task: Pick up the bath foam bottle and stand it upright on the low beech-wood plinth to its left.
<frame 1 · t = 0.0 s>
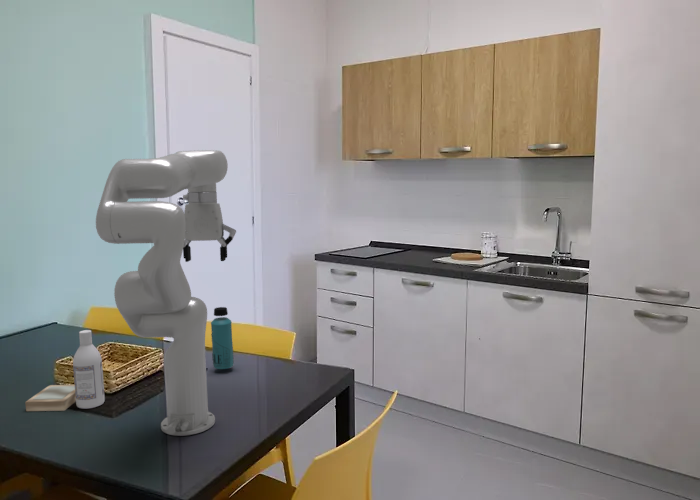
hand: (205, 260, 155), 37 cm above the table, tool pointing down, fingers open, 9 cm apart
plinth: (57, 401, 152), on the table
bath foam: (90, 404, 150), on the table
beverage bottle: (223, 371, 175), on the table
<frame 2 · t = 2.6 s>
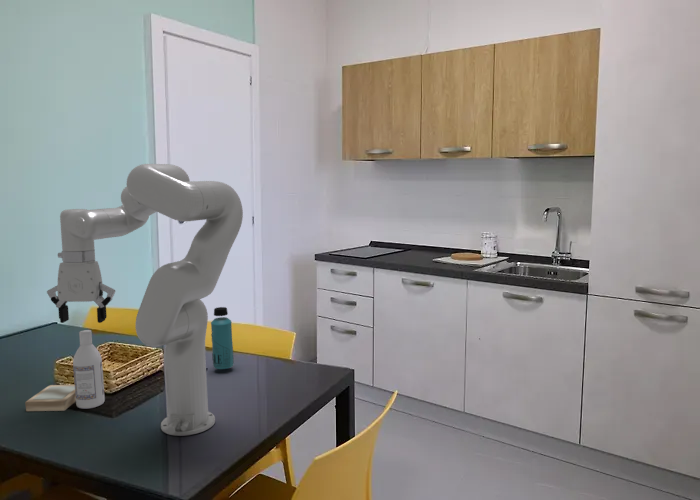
hand: (83, 321, 148), 23 cm above the table, tool pointing down, fingers open, 9 cm apart
nothing on the table moved.
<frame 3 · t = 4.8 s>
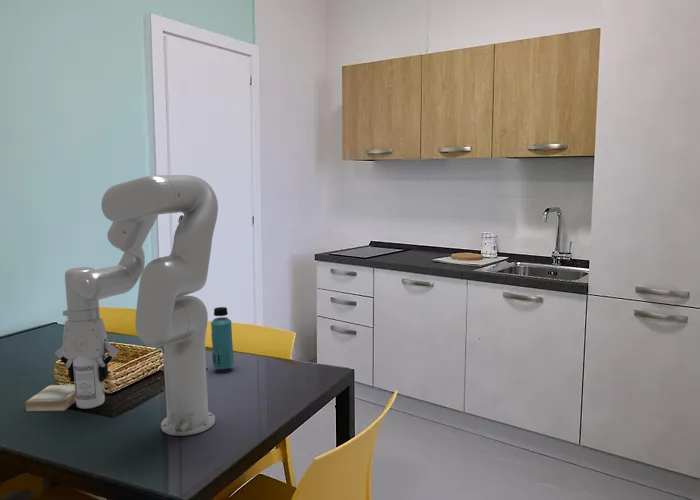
hand: (88, 379, 149), 7 cm above the table, tool pointing down, fingers closed on bath foam, 7 cm apart
bath foam: (90, 404, 150), on the table, touching gripper
everything else where it was.
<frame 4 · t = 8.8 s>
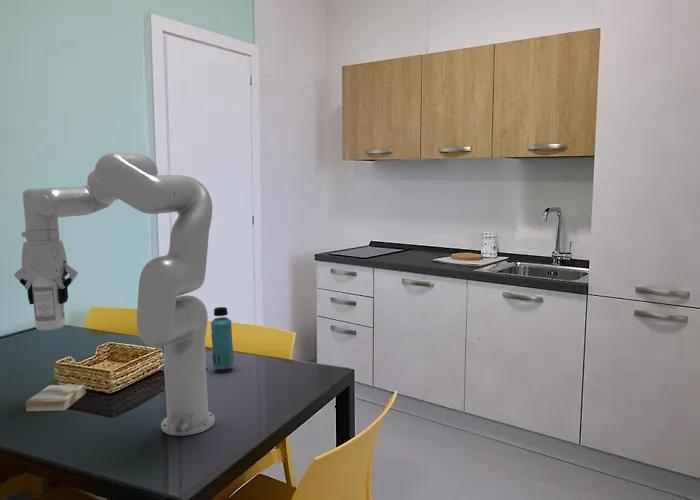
hand: (48, 302, 149), 27 cm above the table, tool pointing down, fingers closed on bath foam, 7 cm apart
bath foam: (50, 328, 150), point 20 cm above the table, touching gripper
everything else where it was.
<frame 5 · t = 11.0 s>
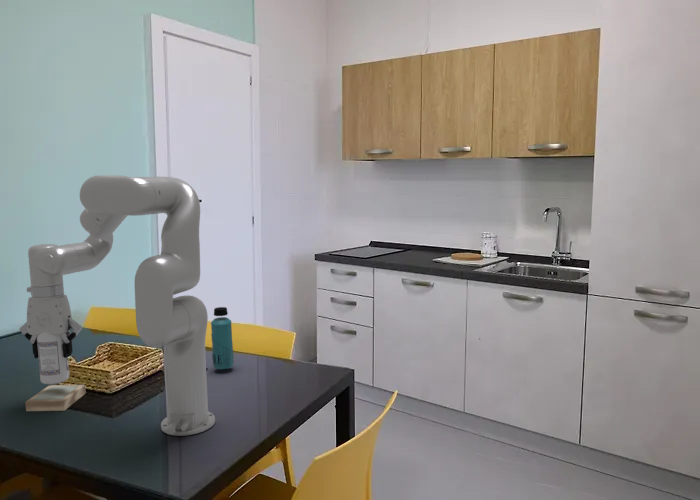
hand: (53, 356, 151), 13 cm above the table, tool pointing down, fingers closed on bath foam, 7 cm apart
bath foam: (55, 381, 151), point 6 cm above the table, touching gripper
everything else where it was.
when the fingers open (10 cm above the table, at t = 12.7 s): bath foam stays where it is, resting on plinth.
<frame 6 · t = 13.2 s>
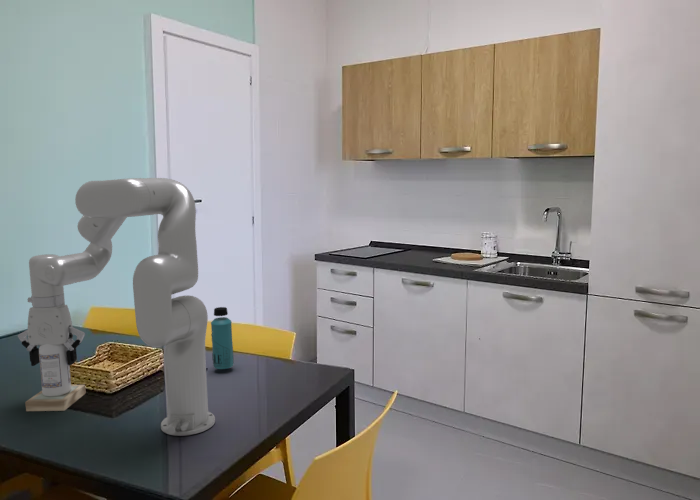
hand: (53, 363, 151), 11 cm above the table, tool pointing down, fingers open, 9 cm apart
bath foam: (57, 393, 152), point 2 cm above the table, touching plinth
everything else where it was.
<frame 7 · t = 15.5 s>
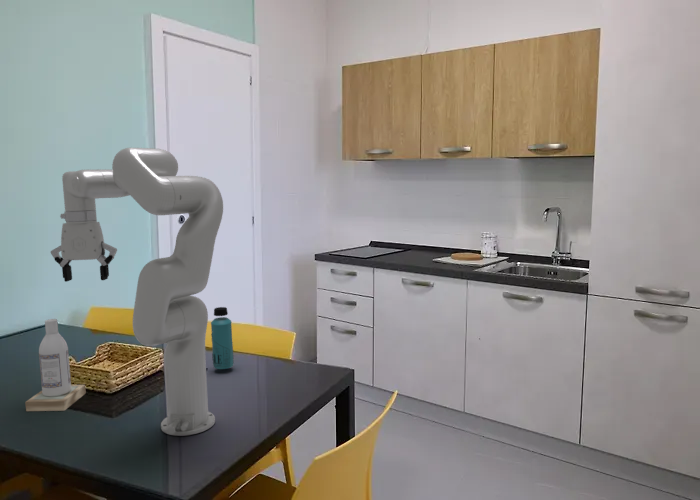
hand: (86, 280, 154), 32 cm above the table, tool pointing down, fingers open, 9 cm apart
nothing on the table moved.
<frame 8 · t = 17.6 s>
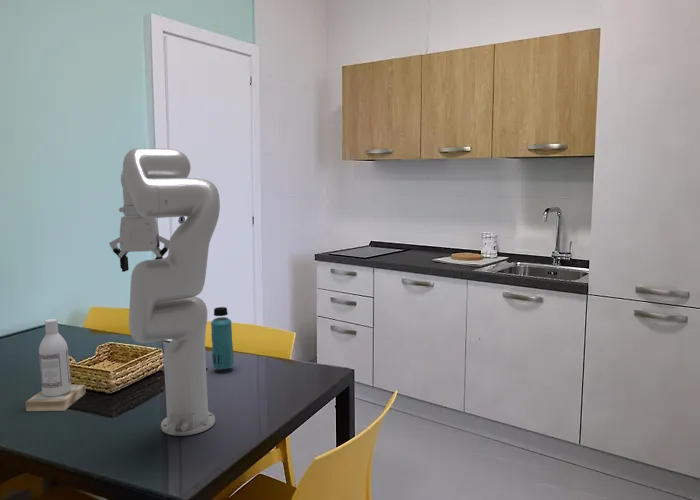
hand: (142, 270, 162), 33 cm above the table, tool pointing down, fingers open, 9 cm apart
nothing on the table moved.
at the end: bath foam inside the target area on the plinth (0.2 cm from its centre), point 2.5 cm above the plinth's base; bath foam tilted 0°; the gripper is holding nothing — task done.
